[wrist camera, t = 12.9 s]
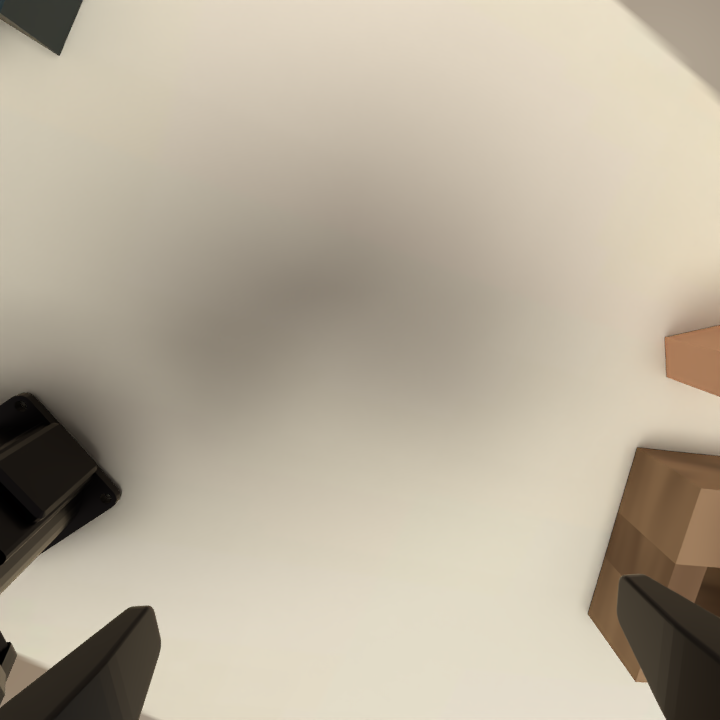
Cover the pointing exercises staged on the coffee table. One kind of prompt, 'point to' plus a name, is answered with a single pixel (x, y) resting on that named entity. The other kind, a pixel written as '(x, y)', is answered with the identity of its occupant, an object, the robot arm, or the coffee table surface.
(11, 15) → the watch
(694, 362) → the rectangular block
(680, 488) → the slot box
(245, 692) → the coffee table surface
